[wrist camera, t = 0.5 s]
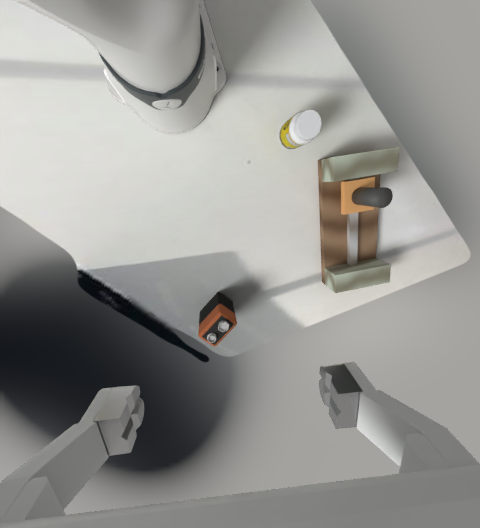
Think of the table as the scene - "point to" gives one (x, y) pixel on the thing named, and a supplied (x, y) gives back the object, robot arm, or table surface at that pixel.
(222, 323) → the battery
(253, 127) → the table surface
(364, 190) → the carriage
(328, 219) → the rail board
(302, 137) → the supplement bottle
